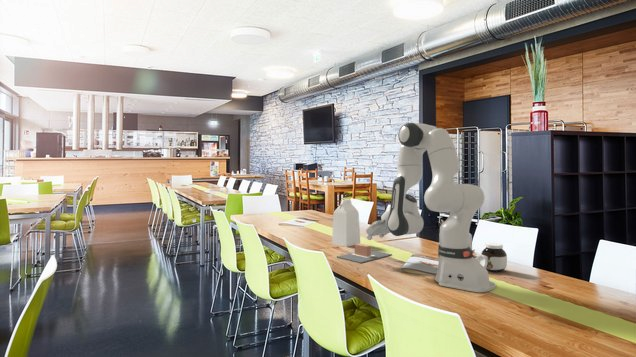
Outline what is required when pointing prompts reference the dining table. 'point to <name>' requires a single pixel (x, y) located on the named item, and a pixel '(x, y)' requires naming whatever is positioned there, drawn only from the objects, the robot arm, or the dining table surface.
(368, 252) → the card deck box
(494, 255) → the spread jar
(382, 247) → the dining table surface
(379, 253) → the charcoal mat
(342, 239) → the milk
